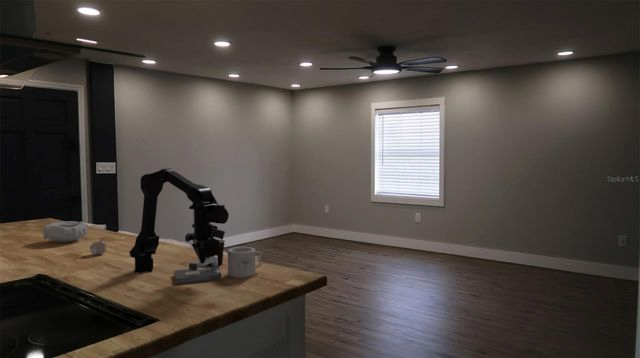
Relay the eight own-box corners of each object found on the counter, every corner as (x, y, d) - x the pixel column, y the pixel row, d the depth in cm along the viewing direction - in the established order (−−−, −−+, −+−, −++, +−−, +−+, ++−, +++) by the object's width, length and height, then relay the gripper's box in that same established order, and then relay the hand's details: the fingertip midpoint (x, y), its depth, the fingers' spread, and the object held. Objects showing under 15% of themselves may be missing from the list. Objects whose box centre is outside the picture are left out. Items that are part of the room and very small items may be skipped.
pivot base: (210, 271, 178) (210, 270, 178) (209, 268, 181) (209, 267, 181) (220, 270, 179) (220, 269, 179) (218, 267, 183) (218, 266, 183)
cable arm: (194, 277, 167) (194, 264, 166) (189, 276, 168) (188, 263, 167) (219, 267, 181) (219, 255, 181) (213, 266, 182) (213, 254, 182)
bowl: (76, 236, 248) (76, 218, 247) (95, 240, 236) (94, 222, 235) (36, 242, 231) (35, 223, 230) (54, 247, 219) (53, 227, 218)
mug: (232, 279, 166) (231, 253, 165) (224, 272, 176) (224, 248, 175) (266, 275, 172) (265, 250, 172) (256, 268, 182) (256, 244, 181)
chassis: (177, 284, 160) (176, 278, 160) (174, 275, 171) (174, 270, 171) (221, 279, 167) (221, 273, 166) (216, 271, 178) (215, 265, 177)
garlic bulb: (92, 257, 201) (91, 239, 200) (88, 254, 205) (88, 237, 205) (108, 254, 205) (107, 237, 204) (104, 252, 210) (103, 235, 209)
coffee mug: (219, 267, 183) (219, 243, 182) (200, 266, 185) (200, 243, 184) (230, 260, 194) (230, 238, 194) (212, 259, 196) (212, 237, 195)
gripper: (233, 222, 160) (233, 265, 162) (211, 216, 175) (212, 255, 176) (204, 226, 154) (204, 270, 155) (184, 219, 168) (185, 259, 170)
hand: (202, 263), depth 164 cm, fingers closed
